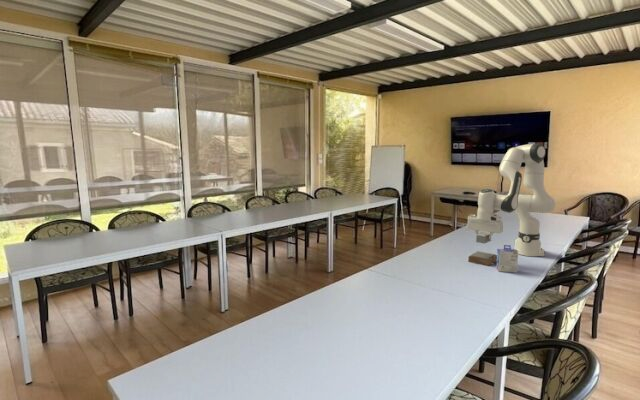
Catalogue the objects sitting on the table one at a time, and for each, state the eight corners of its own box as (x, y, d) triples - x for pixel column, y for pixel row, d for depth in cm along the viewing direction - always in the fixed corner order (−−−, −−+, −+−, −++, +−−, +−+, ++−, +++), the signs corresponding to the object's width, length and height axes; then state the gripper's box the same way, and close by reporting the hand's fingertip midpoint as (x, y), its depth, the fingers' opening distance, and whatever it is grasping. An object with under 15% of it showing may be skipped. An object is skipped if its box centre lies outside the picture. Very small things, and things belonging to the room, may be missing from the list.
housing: (476, 242, 213) (476, 234, 212) (482, 239, 219) (483, 231, 218) (484, 243, 209) (485, 235, 208) (490, 241, 215) (491, 233, 214)
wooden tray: (476, 256, 225) (477, 250, 224) (496, 260, 216) (497, 254, 216) (468, 261, 215) (468, 255, 214) (488, 266, 206) (489, 259, 206)
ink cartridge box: (514, 269, 200) (516, 245, 198) (517, 272, 195) (519, 247, 193) (495, 268, 202) (497, 244, 200) (498, 271, 197) (500, 246, 195)
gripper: (465, 214, 217) (464, 236, 218) (501, 218, 202) (499, 242, 204) (469, 213, 221) (468, 234, 223) (504, 217, 207) (503, 240, 209)
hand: (483, 238), depth 213 cm, fingers closed on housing, 5 cm apart
